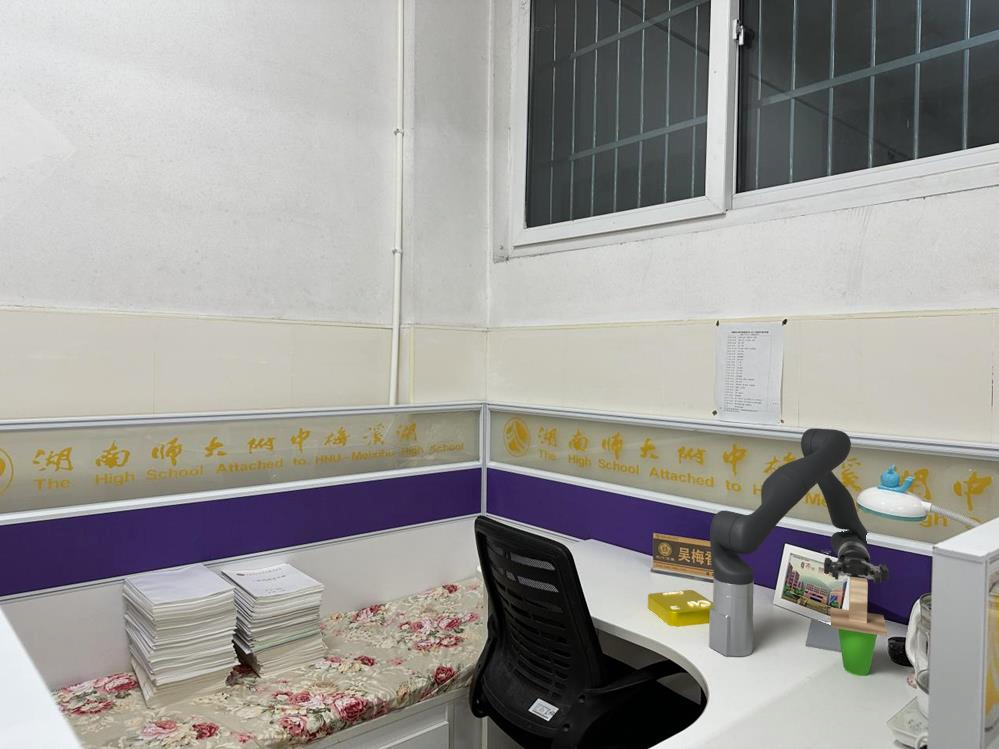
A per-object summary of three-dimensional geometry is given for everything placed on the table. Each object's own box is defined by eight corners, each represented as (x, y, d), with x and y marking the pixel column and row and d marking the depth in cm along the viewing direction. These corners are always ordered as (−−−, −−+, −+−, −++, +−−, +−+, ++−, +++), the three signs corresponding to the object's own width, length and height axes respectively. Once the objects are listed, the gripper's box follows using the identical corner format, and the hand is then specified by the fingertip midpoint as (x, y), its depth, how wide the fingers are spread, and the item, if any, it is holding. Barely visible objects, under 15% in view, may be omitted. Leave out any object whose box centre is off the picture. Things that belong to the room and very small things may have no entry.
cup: (884, 681, 155) (886, 632, 154) (840, 677, 156) (841, 628, 156) (871, 663, 163) (872, 617, 163) (829, 660, 165) (830, 613, 165)
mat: (865, 656, 167) (865, 654, 167) (805, 645, 173) (805, 643, 173) (865, 630, 183) (865, 627, 183) (811, 620, 189) (811, 618, 189)
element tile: (692, 603, 203) (692, 587, 202) (722, 623, 188) (722, 605, 188) (645, 608, 199) (645, 591, 199) (671, 629, 184) (671, 611, 184)
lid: (887, 636, 152) (888, 591, 152) (830, 627, 157) (831, 583, 156) (883, 618, 162) (884, 576, 162) (830, 610, 167) (831, 569, 166)
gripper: (824, 541, 187) (824, 558, 172) (885, 548, 181) (890, 566, 166) (823, 569, 187) (823, 589, 173) (884, 576, 181) (890, 597, 167)
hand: (856, 578), depth 169 cm, fingers open, 8 cm apart
